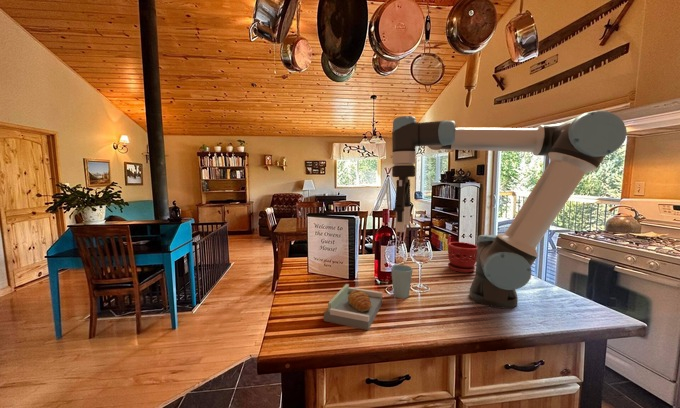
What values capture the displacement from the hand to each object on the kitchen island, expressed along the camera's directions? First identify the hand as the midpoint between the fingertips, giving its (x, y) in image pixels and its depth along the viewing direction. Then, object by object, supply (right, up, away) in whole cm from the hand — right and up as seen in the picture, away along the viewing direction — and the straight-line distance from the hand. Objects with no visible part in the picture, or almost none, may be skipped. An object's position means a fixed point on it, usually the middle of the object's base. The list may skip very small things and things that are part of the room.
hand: (403, 228), depth 95 cm
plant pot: (+36, -23, +36) cm, 56 cm away
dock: (-17, -27, -4) cm, 32 cm away
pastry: (-15, -25, -5) cm, 29 cm away
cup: (+1, -26, +8) cm, 27 cm away
